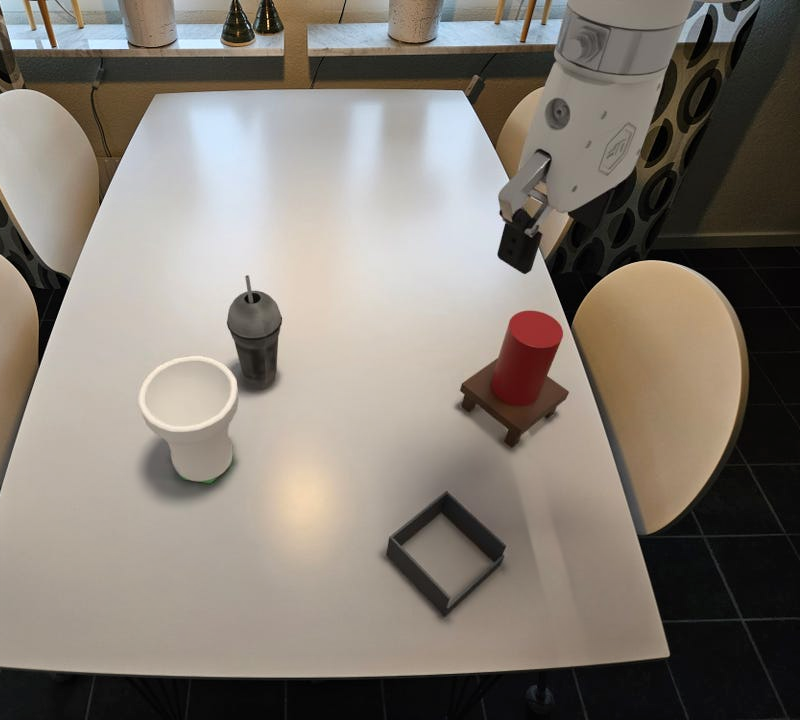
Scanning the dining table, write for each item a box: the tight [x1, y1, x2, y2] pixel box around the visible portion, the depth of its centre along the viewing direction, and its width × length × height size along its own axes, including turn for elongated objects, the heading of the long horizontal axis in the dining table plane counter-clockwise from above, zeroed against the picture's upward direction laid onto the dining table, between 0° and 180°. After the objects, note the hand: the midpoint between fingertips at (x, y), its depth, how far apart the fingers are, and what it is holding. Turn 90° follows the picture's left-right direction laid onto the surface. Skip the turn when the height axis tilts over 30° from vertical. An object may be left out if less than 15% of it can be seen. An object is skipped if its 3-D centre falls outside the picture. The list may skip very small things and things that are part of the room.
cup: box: [137, 355, 239, 484], centre depth 78 cm, size 11×11×14 cm
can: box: [491, 309, 564, 406], centre depth 82 cm, size 6×6×11 cm
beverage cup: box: [226, 274, 283, 390], centre depth 86 cm, size 7×7×20 cm
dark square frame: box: [385, 490, 508, 618], centre depth 73 cm, size 9×9×4 cm
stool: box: [459, 357, 570, 449], centre depth 88 cm, size 10×10×5 cm
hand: (549, 242), depth 56 cm, fingers open, 9 cm apart
